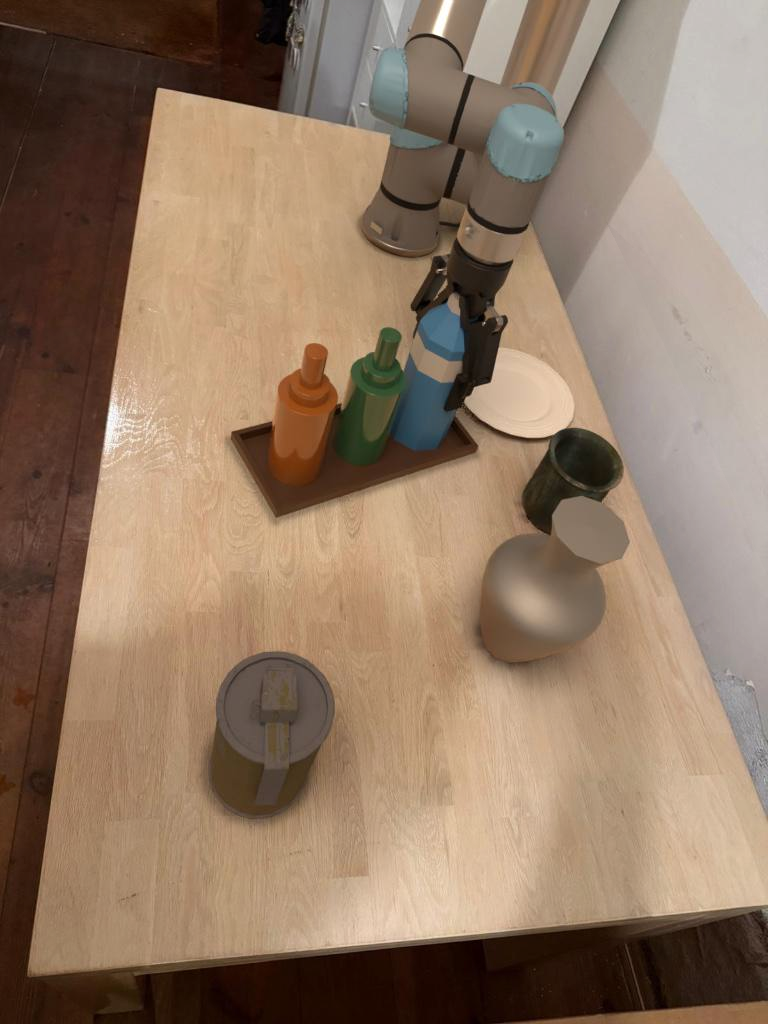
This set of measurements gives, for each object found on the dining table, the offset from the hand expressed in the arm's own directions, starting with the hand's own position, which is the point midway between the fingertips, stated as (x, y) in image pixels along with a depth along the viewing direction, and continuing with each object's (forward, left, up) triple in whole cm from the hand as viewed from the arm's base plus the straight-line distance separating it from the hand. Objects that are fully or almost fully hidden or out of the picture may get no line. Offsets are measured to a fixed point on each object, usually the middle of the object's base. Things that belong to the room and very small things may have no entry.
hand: (433, 383), depth 106 cm
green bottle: (+10, 0, -9) cm, 14 cm away
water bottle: (0, 0, -10) cm, 10 cm away
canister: (+43, +36, -10) cm, 57 cm away
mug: (-11, +22, -10) cm, 27 cm away
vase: (+8, +35, -10) cm, 37 cm away
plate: (-20, -1, -10) cm, 23 cm away
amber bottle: (+21, 0, -9) cm, 23 cm away
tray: (+10, 0, -10) cm, 14 cm away
